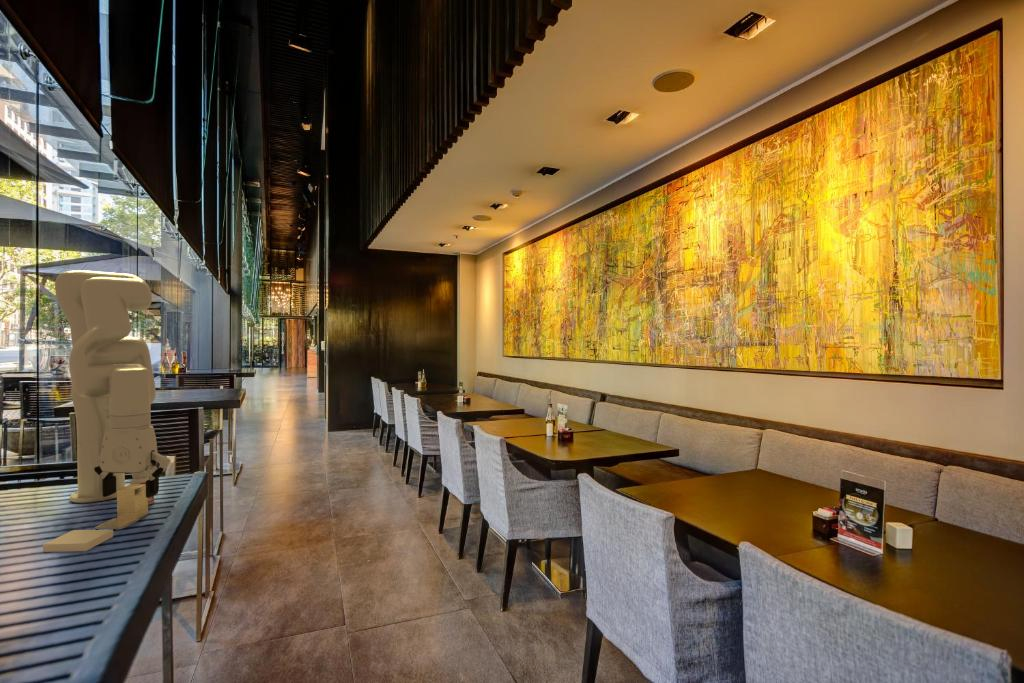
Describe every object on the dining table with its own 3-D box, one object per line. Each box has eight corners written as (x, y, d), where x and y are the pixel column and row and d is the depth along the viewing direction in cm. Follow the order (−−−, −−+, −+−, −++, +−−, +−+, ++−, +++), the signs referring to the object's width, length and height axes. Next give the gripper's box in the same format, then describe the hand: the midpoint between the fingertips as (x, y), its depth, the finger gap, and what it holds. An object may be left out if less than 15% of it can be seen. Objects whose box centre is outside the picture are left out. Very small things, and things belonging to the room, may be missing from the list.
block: (73, 530, 104) (42, 544, 97) (113, 529, 104) (85, 543, 97) (73, 538, 104) (43, 553, 97) (113, 538, 104) (85, 552, 97)
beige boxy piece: (127, 514, 117) (126, 484, 117) (151, 514, 117) (150, 484, 117) (94, 529, 108) (94, 497, 108) (120, 529, 108) (120, 496, 108)
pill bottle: (141, 507, 121) (141, 473, 121) (125, 506, 122) (124, 472, 122) (159, 501, 126) (158, 467, 126) (143, 500, 127) (142, 467, 127)
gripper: (78, 423, 111) (78, 500, 112) (157, 425, 111) (157, 501, 112) (105, 417, 118) (105, 489, 119) (179, 418, 119) (179, 490, 119)
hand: (130, 495), depth 115 cm, fingers open, 9 cm apart
